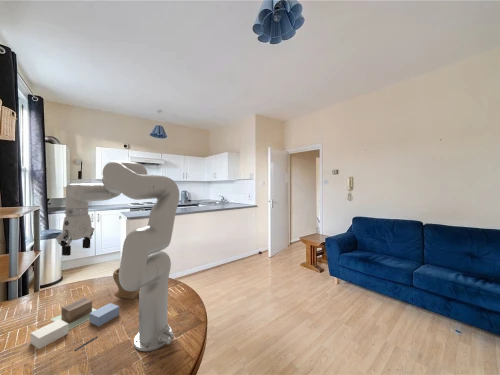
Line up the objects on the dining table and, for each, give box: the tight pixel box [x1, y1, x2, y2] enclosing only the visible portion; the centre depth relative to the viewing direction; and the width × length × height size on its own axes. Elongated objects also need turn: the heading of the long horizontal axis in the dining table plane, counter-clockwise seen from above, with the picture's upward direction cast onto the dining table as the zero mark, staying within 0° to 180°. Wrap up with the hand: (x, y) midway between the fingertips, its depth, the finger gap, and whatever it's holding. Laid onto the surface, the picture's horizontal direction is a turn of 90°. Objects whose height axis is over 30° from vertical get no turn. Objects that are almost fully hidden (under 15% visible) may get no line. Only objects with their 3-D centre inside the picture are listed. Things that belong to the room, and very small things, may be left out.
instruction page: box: [73, 336, 99, 352], centre depth 74 cm, size 9×7×1 cm
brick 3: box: [89, 302, 120, 327], centre depth 84 cm, size 6×8×5 cm
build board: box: [50, 307, 97, 331], centre depth 86 cm, size 14×12×1 cm
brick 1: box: [30, 319, 69, 350], centre depth 73 cm, size 6×8×5 cm
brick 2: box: [60, 297, 93, 324], centre depth 86 cm, size 6×8×5 cm
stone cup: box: [112, 267, 140, 300], centre depth 103 cm, size 15×12×15 cm
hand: (76, 251), depth 89 cm, fingers open, 9 cm apart
